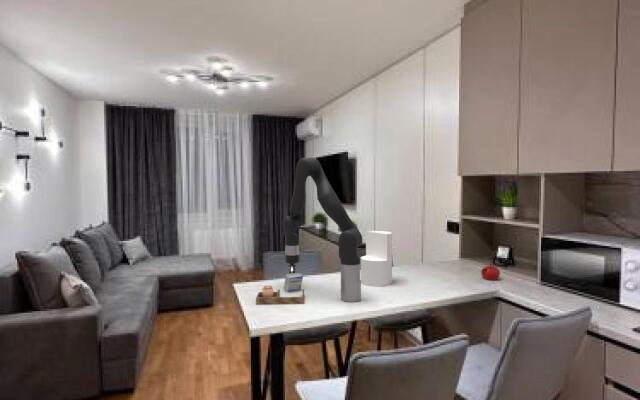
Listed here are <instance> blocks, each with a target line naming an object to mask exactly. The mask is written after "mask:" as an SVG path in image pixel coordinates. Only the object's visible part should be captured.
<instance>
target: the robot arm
mask: <svg viewBox="0 0 640 400" xmlns="http://www.w3.org/2000/svg"><path fill="white" fill-rule="evenodd" d="M295 169H296V170H295V178H294V187H293V193H292V197H291V202H290V205H289V212H290V213H292V214H293V215H287V216H285V217H284V218H283V219H282V221H281V222H282V223H281V224H282V225H281V226H282V229H283V232H284V233H283V234H284V237H285V247H284V255H285V256H284V261H285V263H286V264H289V265H288V274H292V273H297V272H296V271H297V265H295V264H299V263H300V237H299V236H300V235H299V234H297V233H295V232H294V231H293V230H297V229H300V228H301V226H302V225H303V210H304V207H305V203H306V198H307V196H306V190H305V189H306V187H305V186H306V181H307V179H308V177H311V179H312V181H313V182H314V185H315V186H316V192H317V200H318V203H319V204H320V206H321V208H322V210H323V211H324V213H325V214H326V216H328V217H329V218H330V219H331V220H332V221H333V222H334V223H335V224H336V225H337V226H338V228H339V230H340V231H341V233H339V237H338V257H339V260H340V300H341V301H343V302H347V303H355V302H360V301H362V283H361V257H359V256H358V251H357V249H358V248H359V247H361V245H362V243H363V236H362V233H361V232H360V230H359V229H358V228H357V226H356V225H355V223H354V222H353V220H352V219H351V218H350V216H349V215H348V213H347V211H346V209H345V207H344V206H343V204H342V202H341V200H340V199H339V197H338V195H337V194H336V191H334V189H333V187H332V185H331V184H330V181H329V180H328V178H327V176H326V173H325V171H324V169H323V167H322V165H321V163H320V161H319V160H318V159H317V158H316V157H315V158H314V157H302V158H300V159H298V161H297V164H296V168H295Z"/></svg>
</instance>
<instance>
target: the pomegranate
mask: <svg viewBox="0 0 640 400" xmlns="http://www.w3.org/2000/svg"><path fill="white" fill-rule="evenodd" d="M480 274H481V277H482V278H483V279H485V280H486V281H487V280H488V281H497V280H498V279H499V278H500V275H501V271H500V269H499V267H497V266H496V265H495V264H494V265H492V262H490V263H489V265H488V264H486V265H484V266H483V268H482V269H481V271H480Z"/></svg>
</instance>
